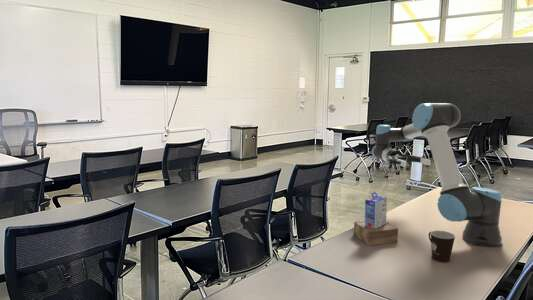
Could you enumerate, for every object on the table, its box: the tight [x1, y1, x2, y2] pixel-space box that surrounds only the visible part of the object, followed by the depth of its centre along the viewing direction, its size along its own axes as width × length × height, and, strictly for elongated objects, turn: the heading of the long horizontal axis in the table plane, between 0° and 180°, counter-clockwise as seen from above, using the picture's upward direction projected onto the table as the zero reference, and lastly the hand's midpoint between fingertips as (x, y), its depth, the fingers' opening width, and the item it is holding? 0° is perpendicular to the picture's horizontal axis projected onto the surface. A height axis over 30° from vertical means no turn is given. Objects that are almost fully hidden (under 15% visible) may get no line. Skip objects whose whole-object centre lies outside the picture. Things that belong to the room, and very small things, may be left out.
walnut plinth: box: [353, 220, 399, 246], centre depth 175 cm, size 13×14×6 cm
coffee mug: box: [428, 230, 456, 264], centre depth 155 cm, size 12×9×10 cm
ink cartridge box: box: [364, 191, 388, 229], centre depth 174 cm, size 10×6×14 cm, turn 134°
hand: (417, 163), depth 190 cm, fingers open, 13 cm apart
